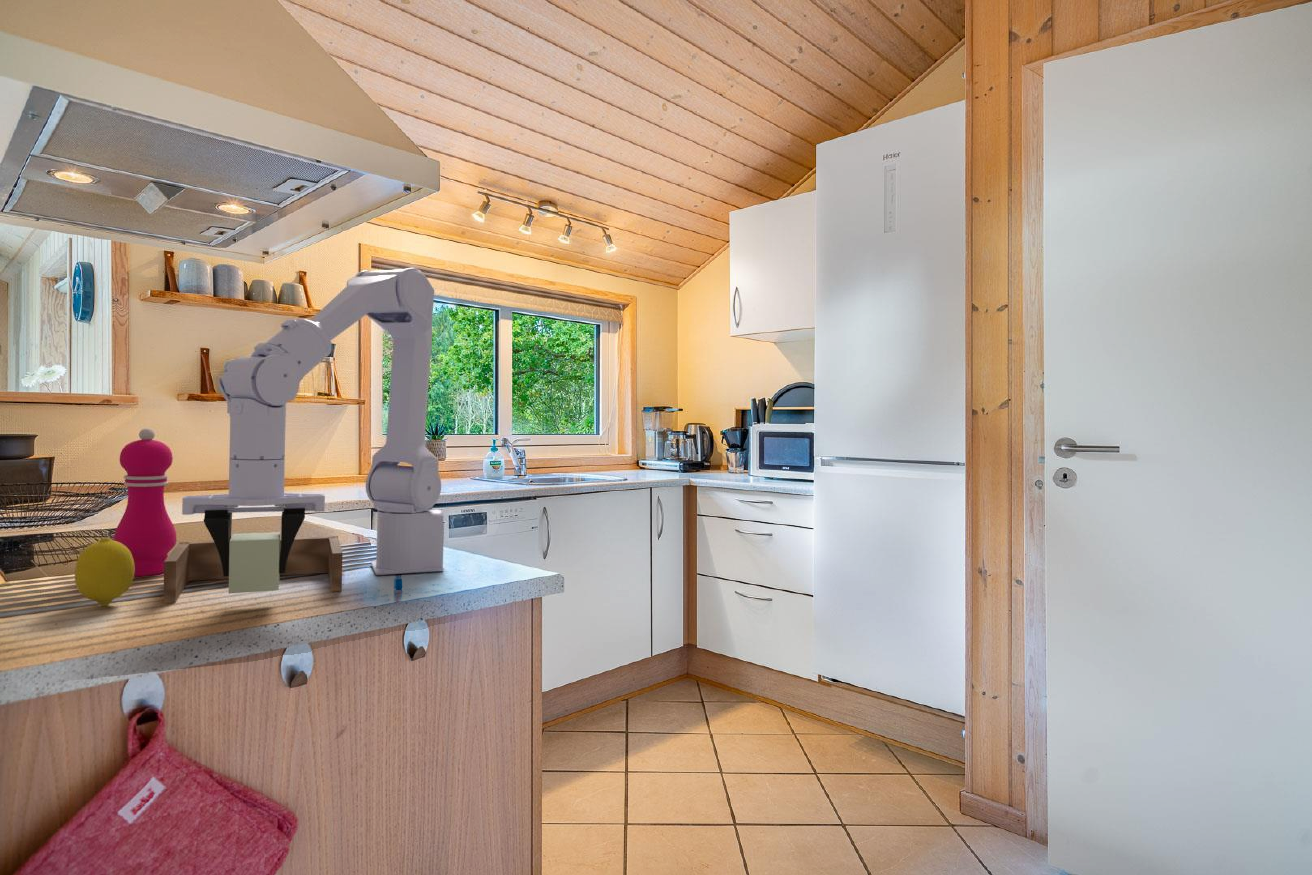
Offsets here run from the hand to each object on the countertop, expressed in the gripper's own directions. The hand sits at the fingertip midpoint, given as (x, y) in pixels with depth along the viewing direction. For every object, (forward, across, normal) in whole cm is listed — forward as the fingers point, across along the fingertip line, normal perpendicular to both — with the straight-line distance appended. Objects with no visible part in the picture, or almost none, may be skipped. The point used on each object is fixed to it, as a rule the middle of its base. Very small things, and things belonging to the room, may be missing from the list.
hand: (255, 573), depth 85 cm
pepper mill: (+4, -14, +24) cm, 28 cm away
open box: (+4, 0, +11) cm, 12 cm away
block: (+2, 0, 0) cm, 2 cm away
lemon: (+4, -16, +6) cm, 17 cm away
